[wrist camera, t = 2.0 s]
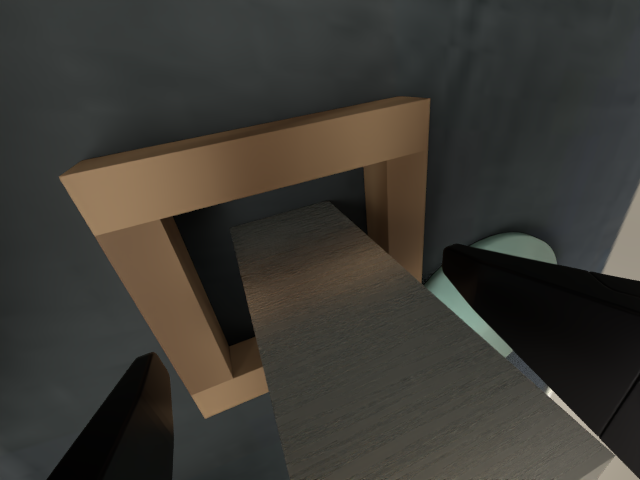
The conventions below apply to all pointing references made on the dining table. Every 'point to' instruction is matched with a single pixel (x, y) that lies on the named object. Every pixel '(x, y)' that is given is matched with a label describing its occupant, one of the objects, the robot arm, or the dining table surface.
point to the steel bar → (388, 368)
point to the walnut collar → (234, 183)
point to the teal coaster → (499, 243)
